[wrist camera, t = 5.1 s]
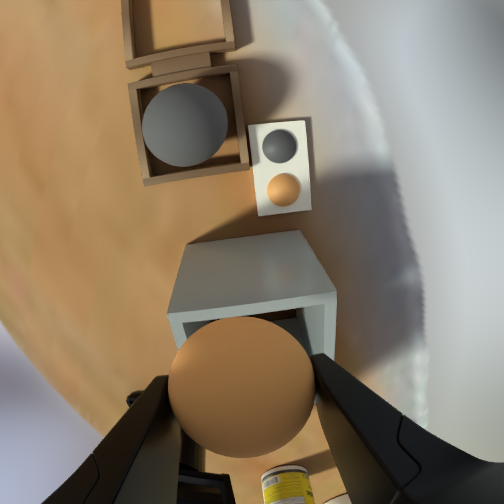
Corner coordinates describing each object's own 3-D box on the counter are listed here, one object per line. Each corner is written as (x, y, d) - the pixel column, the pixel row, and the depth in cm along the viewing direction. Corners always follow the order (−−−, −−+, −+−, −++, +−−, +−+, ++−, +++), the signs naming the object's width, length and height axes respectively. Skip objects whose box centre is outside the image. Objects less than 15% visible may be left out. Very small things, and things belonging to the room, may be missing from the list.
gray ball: (232, 154, 17) (233, 165, 13) (158, 166, 16) (140, 180, 13) (222, 82, 15) (221, 71, 11) (148, 95, 15) (126, 89, 11)
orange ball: (302, 375, 11) (328, 468, 7) (192, 391, 11) (187, 485, 7) (295, 279, 9) (336, 374, 6) (161, 299, 9) (133, 400, 6)
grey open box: (303, 322, 21) (330, 399, 15) (206, 335, 21) (202, 417, 15) (299, 229, 18) (336, 290, 12) (186, 244, 18) (166, 313, 12)
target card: (310, 208, 18) (312, 210, 18) (257, 214, 18) (258, 216, 18) (303, 120, 16) (305, 120, 16) (247, 125, 16) (248, 125, 16)
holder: (248, 167, 17) (249, 170, 16) (147, 183, 17) (143, 186, 16) (224, -33, 12) (224, -39, 11) (124, -14, 12) (120, -19, 11)
